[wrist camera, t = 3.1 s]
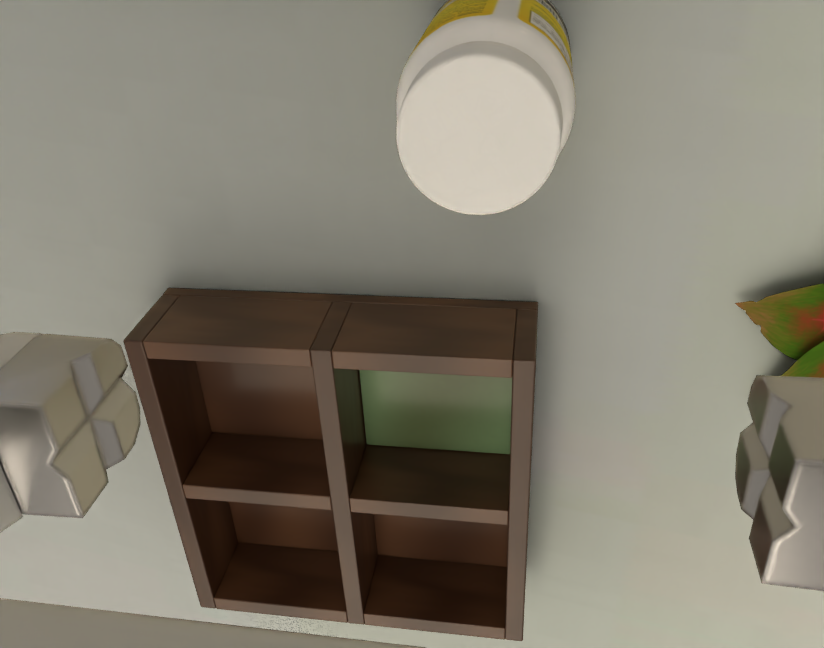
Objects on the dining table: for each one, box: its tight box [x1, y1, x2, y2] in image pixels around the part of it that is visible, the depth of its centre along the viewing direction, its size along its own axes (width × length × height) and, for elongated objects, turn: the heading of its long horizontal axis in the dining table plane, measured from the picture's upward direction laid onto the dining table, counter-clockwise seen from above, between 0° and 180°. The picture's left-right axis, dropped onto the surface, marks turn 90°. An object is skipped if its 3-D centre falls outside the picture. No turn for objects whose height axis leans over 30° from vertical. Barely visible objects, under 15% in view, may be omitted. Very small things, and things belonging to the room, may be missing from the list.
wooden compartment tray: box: [124, 288, 538, 641], centre depth 34 cm, size 15×15×4 cm
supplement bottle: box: [396, 0, 576, 215], centre depth 22 cm, size 5×5×8 cm
